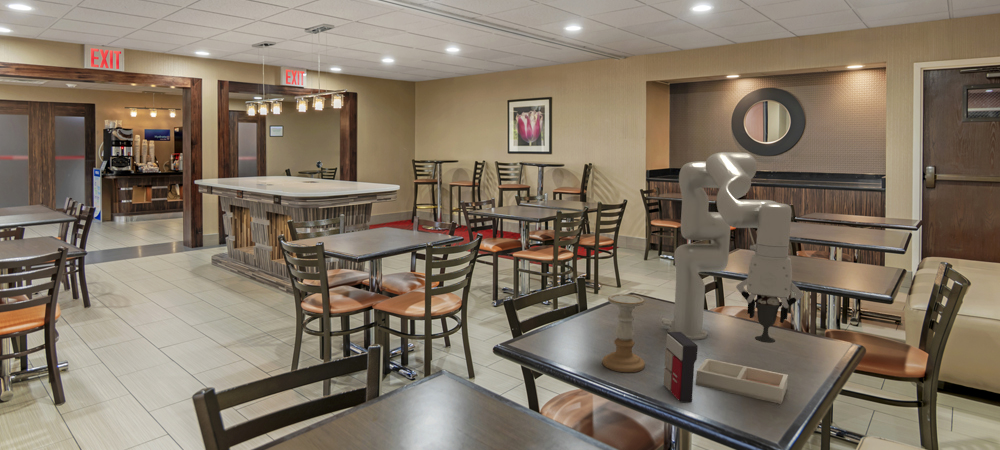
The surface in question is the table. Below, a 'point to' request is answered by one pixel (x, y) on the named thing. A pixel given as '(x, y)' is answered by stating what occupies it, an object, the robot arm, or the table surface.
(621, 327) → the candle holder
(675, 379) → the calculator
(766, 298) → the sundae
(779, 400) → the carrier tray
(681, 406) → the table surface
